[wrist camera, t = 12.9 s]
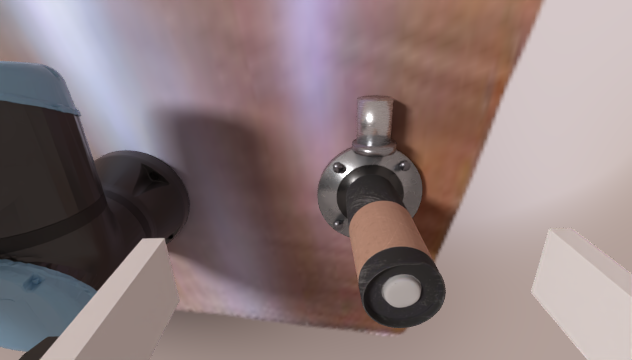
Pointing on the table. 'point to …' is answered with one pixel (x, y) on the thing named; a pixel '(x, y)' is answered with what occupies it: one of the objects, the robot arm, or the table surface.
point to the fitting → (368, 164)
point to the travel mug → (390, 256)
